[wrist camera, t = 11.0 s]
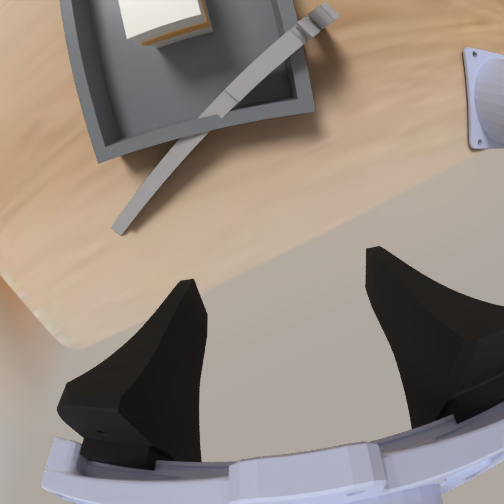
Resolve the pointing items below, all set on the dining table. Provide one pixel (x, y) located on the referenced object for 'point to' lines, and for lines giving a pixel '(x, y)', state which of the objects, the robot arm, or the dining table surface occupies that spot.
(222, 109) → the caliper
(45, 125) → the dining table surface
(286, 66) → the tray
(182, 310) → the robot arm
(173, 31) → the white block
